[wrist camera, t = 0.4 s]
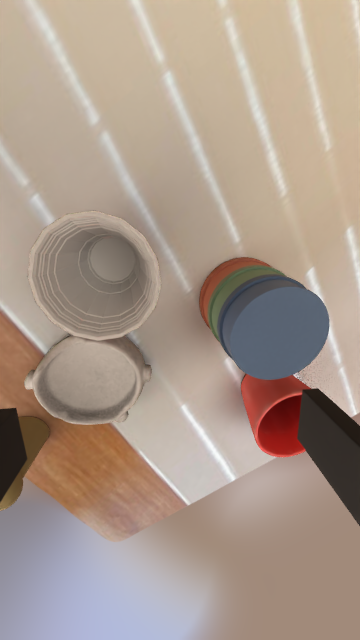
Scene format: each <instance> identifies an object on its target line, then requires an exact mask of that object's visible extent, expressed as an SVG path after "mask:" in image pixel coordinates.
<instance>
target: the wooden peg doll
mask: <svg viewBox="0 0 360 640" xmlns="http://www.w3.org/2000/svg"><path fill="white" fill-rule="evenodd" d="M18 419H19V423H20V428H21V432H22V436H23V441H24V445H25V449H26V454H27V458H28V459H27V461H26V462H25V464H24V466H23V467H22V469H21V470H20V472H19V473H18V475H17V477H16V478H15V480H14V481H13V483H12V485H11V486H10V488H9V489H8V491H7V493H6V494H5V496H4V497H3V499H2V501H1V502H0V511H2V510H4V509H7V508H8V507H10V506H11V505H12V504H14V503H15V501H16V500H17V499H18V497H19V496H20V494H21V491H22V487H23V477H24V475H25V474H26V472H27V471H28V469H29V467H30V466H31V464H32V463H33V461H34V459H35V458H36V456H37V454H38V453H39V451H40V450H41V448H42V446H43V445H44V443H45V442H46V440H47V438H48V437H49V432H50V431H49V428H48V426H47V425H46V423H45V422H43V421H42V420H40V419H38V418H35V417H29V416H25V417H19V418H18Z"/></svg>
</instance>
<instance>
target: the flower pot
mask: <svg viewBox="0 0 360 640" xmlns="http://www.w3.org/2000/svg"><path fill="white" fill-rule="evenodd" d="M303 389H311V388H310V387H308V386H307V385H305V384H304V383H303V382H301V381H300V380H298V379H297V378H296V377H294V376H293V375H290V376H288V377H285V378H281V379H275V380H264V379H258V378H255V377H252V376H250V375H248V374H246V375H245V377H244V379H243V381H242V383H241V392H242V396H243V400H244V404H245V408H246V411H247V415H248V418H249V421H250V425H251V428H252V431H253V434H254V437H255V440H256V443H257V445H258V446H259V448H260V449H261V450H262V451H264V452H265V453H267V454H269V455H271V456H275V457H289V456H294V455H298V454H300V453H302V452H305V451H306V450H305V449H304V447H303V446H302V444H301V443H300V442H299V440H298V439H297V435H298V426H299V417H300V408H301V399H302V390H303Z"/></svg>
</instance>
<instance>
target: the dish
mask: <svg viewBox="0 0 360 640" xmlns="http://www.w3.org/2000/svg"><path fill="white" fill-rule="evenodd" d="M151 374H152V369H151V366H150V365H145V363H144V359H143V356H142V354H141V352H140V351H139V349H138V348H137V347H136V346H135V345H134V344H133V343H132V342H131V341H130V340H129V339H127V338H126V337H124V336H122V337H119V338H112V339H106V340H99V341H97V340H92V339H87V338H83V337H78V336H73V335H71V336H69V337H67V338H65V339H64V340H62V341H60V342H59V343H58V344H56V345H55V346H54V347H53V348H52V349H51V350H50V351H49V352H48V353H47V354H46V355H45V356H44V358H43V359H42V360H41V362H40V363H39V365H38V367H37V369H36V370H31V371H30V372H29V373H28V375H27V377H26V379H25V382H24V385H25V388H26V389H33V390H34V393H35V396H36V398H37V400H38V401H39V403H40V404H41V405H42V406H43V408H45V409H46V410H47V411H48V413H50V414H51V415H52V416H54V417H56V418H61V419H62V420H64V421H66V422H69V423H73V424H87V425H89V424H104V423H110V422H113V421H116V422H123V421H124V420H125V419H126V418H127V417H128V410H129V409H130V408H131V407H132V406H133V405H134V404H135V402H136V401H137V399H138V397H139V395H140V393H141V391H142V388H143V385H144V382H146V381H150V379H151Z"/></svg>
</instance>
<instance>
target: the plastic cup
mask: <svg viewBox="0 0 360 640" xmlns="http://www.w3.org/2000/svg"><path fill="white" fill-rule="evenodd" d="M27 277H28V280H29V283H30V286H31V290H32V293H33V296H34V299H35V302H36V303H37V305H38V306H39V307H40V308H41V310H42V311H43V312H44V313H45V315H46V316H47V317H48V318H49V320H50V321H51V322H52V323H54V324H55V325H57V326H59V327H60V328H62V329H63V330H65V331H67V332H68V333H70V334H72V335H73V336H78V337H83V338H87V339H92V340H97V341H99V340H106V339H112V338H119V337H122V336H124V335H126V334H128V333H129V332H131V331H133V330H135V329H136V328H138V327H140V326H141V325H142V324H143V323H144V322H145V320H146V319H147V318H148V316H149V315H150V314H151V312H152V311H153V310H154V308H155V307H156V303H157V299H158V295H159V291H160V287H161V279H160V272H159V265H158V259H157V257H156V256H155V254H154V252H153V250H152V249H151V247H150V245H149V244H148V242H147V240H146V238H145V237H144V236H143V235H142V234H141V233H140V232H138V231H137V230H136V229H135V228H133V227H132V226H131V225H129V224H128V223H127V222H126V221H124V220H123V219H122V218H118V217H115V216H111V215H108V214H105V213H101V212H98V211H87V212H79V213H71V214H66V215H65V216H63V217H61V218H60V219H58V220H57V221H55V222H53V223H52V224H50V225H49V226H47V227H45V228H44V229H43V231H42V232H41V234H40V236H39V237H38V239H37V241H36V242H35V244H34V245H33V247H32V249H31V250H30V258H29V267H28V276H27Z"/></svg>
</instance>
